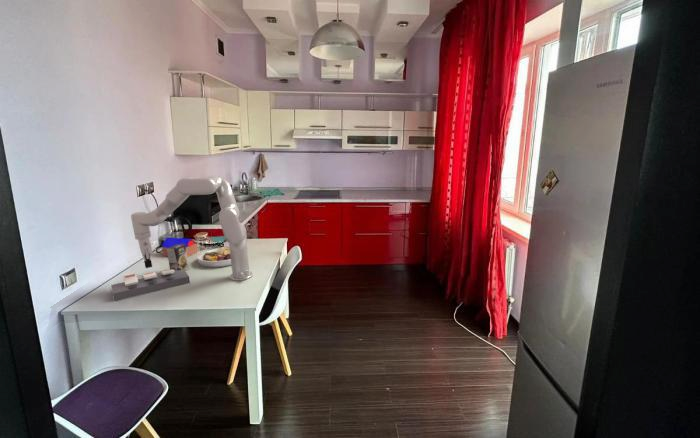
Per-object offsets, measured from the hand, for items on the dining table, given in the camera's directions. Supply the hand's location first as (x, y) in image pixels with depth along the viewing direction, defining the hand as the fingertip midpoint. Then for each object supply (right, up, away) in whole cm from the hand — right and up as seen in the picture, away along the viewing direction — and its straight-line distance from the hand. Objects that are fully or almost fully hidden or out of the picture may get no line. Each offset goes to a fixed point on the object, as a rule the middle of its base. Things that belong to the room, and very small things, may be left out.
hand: (148, 267), depth 204 cm
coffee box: (+8, -6, +20) cm, 22 cm away
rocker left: (-6, -6, -6) cm, 11 cm away
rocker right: (+9, -4, +4) cm, 10 cm away
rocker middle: (+1, -5, -1) cm, 5 cm away
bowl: (+28, -1, +38) cm, 47 cm away
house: (-7, +2, +54) cm, 55 cm away
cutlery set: (+6, +7, +76) cm, 77 cm away
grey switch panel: (+3, -11, -2) cm, 11 cm away
